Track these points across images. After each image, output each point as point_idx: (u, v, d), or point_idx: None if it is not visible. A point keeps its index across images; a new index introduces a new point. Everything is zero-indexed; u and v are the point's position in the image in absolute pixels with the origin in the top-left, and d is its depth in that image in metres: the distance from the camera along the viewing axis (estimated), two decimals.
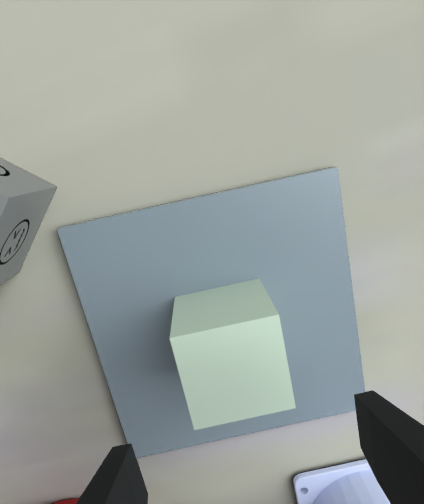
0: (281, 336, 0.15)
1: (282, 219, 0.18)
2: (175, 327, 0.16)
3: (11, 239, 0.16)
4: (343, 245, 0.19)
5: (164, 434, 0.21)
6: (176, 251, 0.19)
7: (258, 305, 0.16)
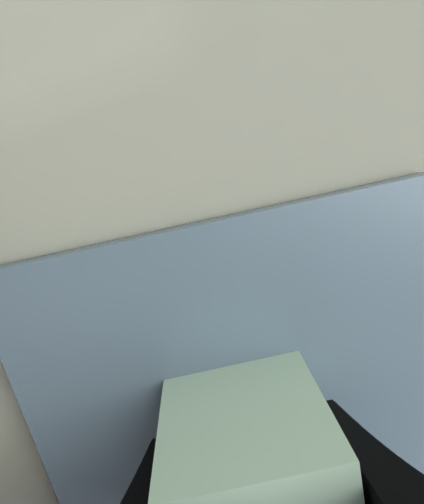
0: (361, 499, 0.08)
1: (339, 258, 0.11)
2: (160, 470, 0.09)
3: None
4: None
5: None
6: (165, 309, 0.11)
7: (311, 426, 0.09)
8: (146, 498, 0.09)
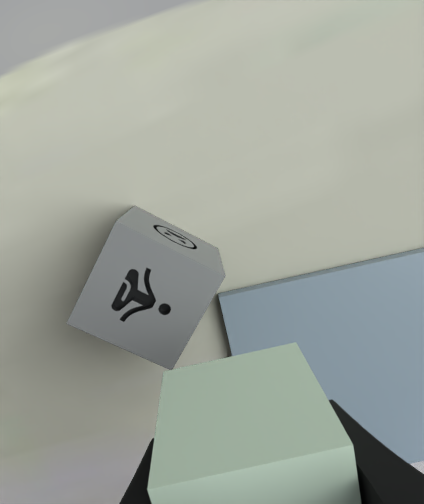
0: (355, 482, 0.08)
1: (416, 286, 0.21)
2: (160, 455, 0.09)
3: None
4: None
5: None
6: (321, 314, 0.21)
7: (308, 412, 0.09)
8: (146, 498, 0.09)
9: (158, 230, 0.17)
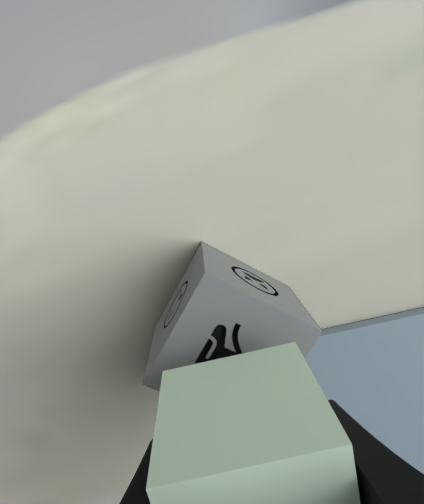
0: (354, 481, 0.08)
1: None
2: (158, 455, 0.09)
3: None
4: None
5: None
6: (398, 360, 0.19)
7: (307, 411, 0.09)
8: (146, 498, 0.09)
9: (238, 275, 0.15)
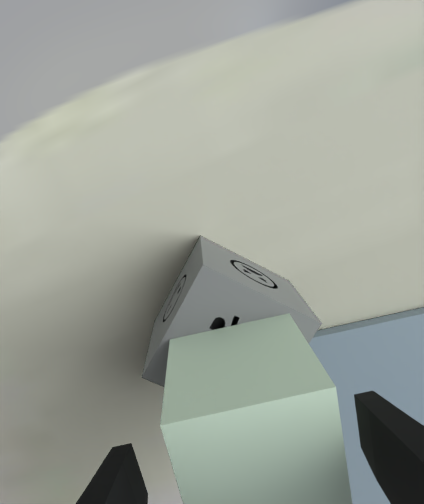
0: (338, 420, 0.09)
1: None
2: (170, 401, 0.10)
3: None
4: None
5: None
6: (397, 360, 0.19)
7: (297, 365, 0.10)
8: None
9: (237, 268, 0.15)
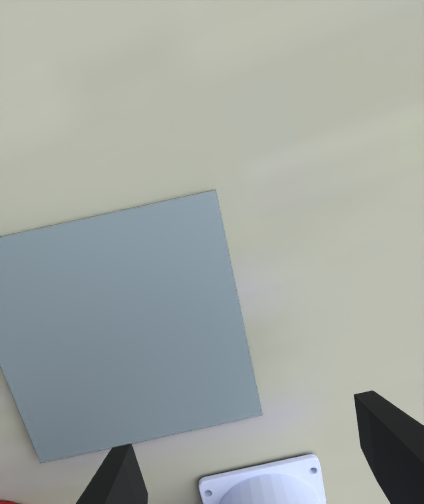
0: None
1: (167, 239, 0.20)
2: None
3: None
4: (227, 263, 0.20)
5: (69, 439, 0.22)
6: (68, 268, 0.20)
7: None
8: None
9: None
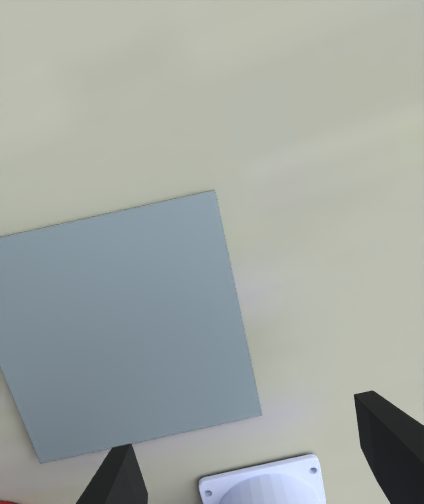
0: None
1: (166, 239, 0.20)
2: None
3: None
4: (226, 263, 0.20)
5: (69, 440, 0.22)
6: (67, 269, 0.20)
7: None
8: None
9: None
